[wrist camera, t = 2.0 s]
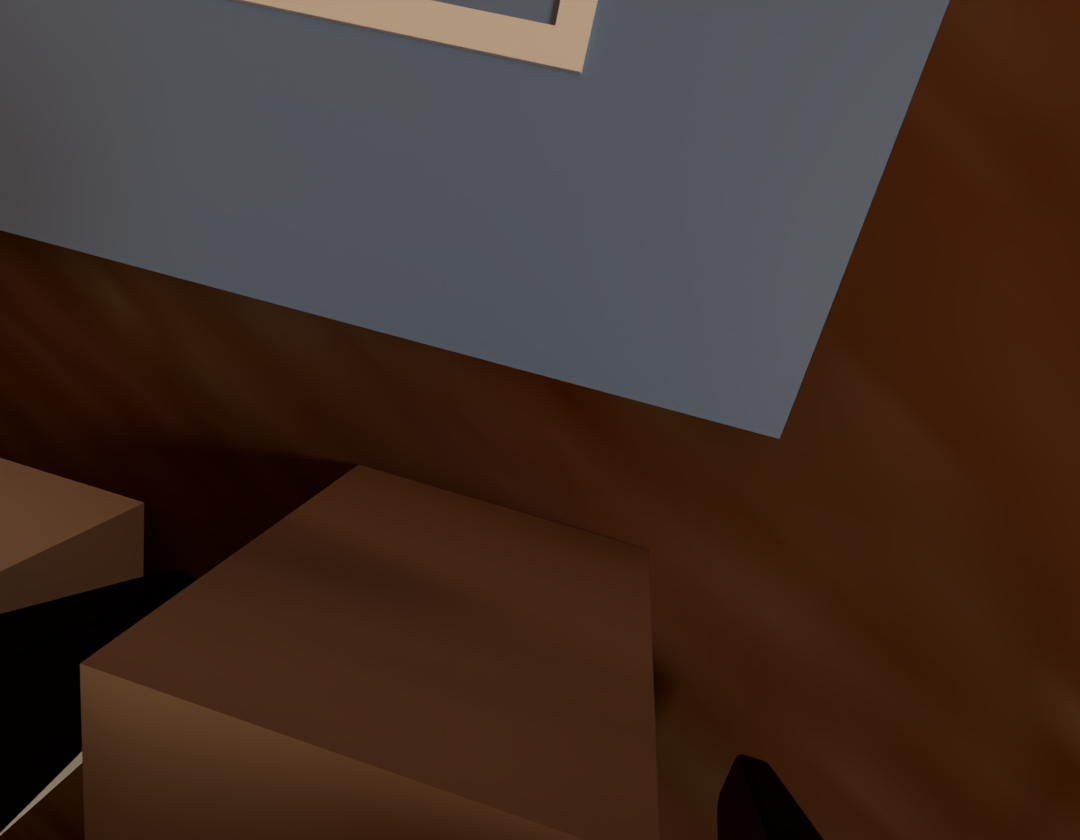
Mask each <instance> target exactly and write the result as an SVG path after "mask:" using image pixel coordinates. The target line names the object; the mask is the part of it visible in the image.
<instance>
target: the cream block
mask: <svg viewBox="0 0 1080 840" xmlns="http://www.w3.org/2000/svg"><path fill="white" fill-rule="evenodd" d="M143 569H144V502H141V501H138V500H134V499H131V498H128V497H125V496H121V495H118V494H115V493H112V492H109V491H105V490H102V489H99V488H96V487H92V486H89V485H86V484H83V483H80V482H76V481H73V480H70V479H67V478H63V477H60V476H57V475H54V474H51V473H47V472H44V471H41V470H38V469H34V468H31V467H28V466H25V465H22V464H18V463H15V462H12V461H9V460H5V459H2V458H0V614H1V613H5V612H9V611H13V610H17V609H20V608H24V607H28V606H32V605H36V604H40V603H43V602H47V601H51V600H55V599H59V598H63V597H66V596H70V595H74V594H78V593H82V592H85V591H89V590H93V589H97V588H101V587H105V586H108V585H112V584H116V583H120V582H124V581H128V580H131V579H135V578H139V577H143ZM81 763H82V752H81V753H80V754H79V755H78V756H77V757H76V758H75V759H74V760H73V761H72V762H71V763H70V764H69V765H68V766H67V767H66V768H65V769H64V770H63V771H62V772H61V773H60V774H59V775H58V776H57V777H56V778H55V779H54V780H53V781H52V782H51V783H50V784H49V785H48V786H47V787H46V788H45V789H44V790H43V791H42V792H41V793H40V794H39V795H38V796H37V797H36V798H35V799H34V800H33V801H32V802H31V803H30V804H29V805H28V806H27V807H26V808H25V809H24V810H23V811H22V812H21V813H20V814H19V815H18V816H17V817H16V818H15V819H14V820H13V821H12V822H11V823H10V824H9V825H8V826H7V827H6V828H5V829H4V830H3V831H2V832H1V833H0V835H2V834H3V833H4V832H5V831H6V830H7V829H8V828H9V827H11V826H12V825H13V824H14V823H15V822H16V821H17V820H18V819H20V818H21V817H22V816H23V815H24V814H25V813H26V812H27V811H28V810H30V809H31V808H32V807H33V806H34V805H35V804H36V803H37V802H39V801H40V800H41V799H42V798H43V797H44V796H45V795H46V794H48V793H49V792H50V791H51V790H52V789H53V788H54V787H55V786H57V785H58V784H59V783H60V782H61V781H62V780H63V779H64V778H66V777H67V776H68V775H69V774H70V773H71V772H72V771H73V770H75V769H76V768H77V767H78V766H79V765H80V764H81Z"/></svg>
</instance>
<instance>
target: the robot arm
mask: <svg viewBox="0 0 1080 840" xmlns="http://www.w3.org/2000/svg"><path fill="white" fill-rule="evenodd" d="M193 582H195V578H194V577H192V576H191V575H188V574H184V573H181V572H178V571H175V570H166V571H162V572H158V573H154V574H150V575H147V576H143V577H139V578H135V579H131V580H128V581H124V582H120V583H116V584H112V585H108V586H105V587H101V588H97V589H93V590H89V591H85V592H82V593H78V594H74V595H70V596H66V597H63V598H59V599H55V600H51V601H47V602H43V603H40V604H36V605H32V606H28V607H24V608H20V609H17V610H13V611H9V612H5V613H1V614H0V833H1V832H2V831H3V830H4V829H5V828H6V827H7V826H8V825H9V824H10V823H11V822H12V821H13V820H14V819H15V818H16V817H17V816H18V815H19V814H20V813H21V812H22V811H23V810H24V809H25V808H26V807H27V806H28V805H29V804H30V803H31V802H32V801H33V800H34V799H35V798H36V797H37V796H38V795H39V794H40V793H41V792H42V791H43V790H44V789H45V788H46V787H47V786H48V785H49V784H50V783H51V782H52V781H53V780H54V779H55V778H56V777H57V776H58V775H59V774H60V773H61V772H62V771H63V770H64V769H65V768H66V767H67V766H68V765H69V764H70V763H71V762H72V761H73V760H74V759H75V758H76V757H77V756H78V755H79V754H80V753H81V752H82V725H81V689H80V663H81V662H83V661H84V660H86V659H87V658H88V657H90V656H91V655H93V654H94V653H95V652H97V651H98V650H100V649H101V648H102V647H104V646H105V645H107V644H108V643H109V642H111V641H112V640H114V639H115V638H116V637H118V636H119V635H121V634H122V633H123V632H125V631H126V630H128V629H129V628H130V627H132V626H133V625H135V624H136V623H137V622H139V621H140V620H142V619H143V618H144V617H146V616H147V615H149V614H150V613H151V612H153V611H154V610H156V609H157V608H158V607H160V606H161V605H163V604H164V603H165V602H167V601H168V600H170V599H171V598H172V597H174V596H175V595H177V594H178V593H179V592H181V591H182V590H184V589H185V588H186V587H188V586H189V585H191V584H192V583H193ZM717 821H718V840H823V838H822V837H821V835H820V834H819V833H818V831H817V830H816V829H815V827H814V826H813V824H812V823H811V822H810V820H809V819H808V817H807V816H806V815H805V813H804V812H803V810H802V809H801V808H800V806H799V805H798V804H797V802H796V801H795V799H794V798H793V797H792V795H791V794H790V792H789V791H788V790H787V788H786V787H785V786H784V784H783V783H782V781H781V780H780V779H779V777H778V776H777V774H776V773H775V772H774V770H773V769H772V768H771V766H770V765H769V764H768V763H767V762H765V761H763V760H760V759H757V758H753V757H750V756H747V755H744V754H741V755H738V756H737V757H736V759H735V760H734V762H733V765H732V767H731V769H730V771H729V774H728V776H727V778H726V780H725V783H724V785H723V787H722V789H721V792H720V795H719V799H718V807H717Z"/></svg>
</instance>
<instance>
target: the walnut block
mask: <svg viewBox="0 0 1080 840" xmlns="http://www.w3.org/2000/svg"><path fill="white" fill-rule="evenodd" d="M80 689H81V725H82V762H83V798H84V834H85V840H660V835H659V808H658V782H657V756H656V730H655V703H654V677H653V651H652V625H651V599H650V572H649V550H648V549H645V548H642V547H638V546H635V545H631V544H628V543H625V542H621V541H618V540H614V539H611V538H608V537H604V536H601V535H597V534H594V533H590V532H587V531H584V530H580V529H577V528H573V527H570V526H567V525H563V524H560V523H556V522H553V521H550V520H546V519H543V518H539V517H536V516H533V515H529V514H526V513H522V512H519V511H516V510H512V509H509V508H505V507H502V506H499V505H495V504H492V503H488V502H485V501H482V500H478V499H475V498H471V497H468V496H465V495H461V494H458V493H454V492H451V491H447V490H444V489H441V488H437V487H434V486H430V485H427V484H424V483H420V482H417V481H413V480H410V479H407V478H403V477H400V476H396V475H393V474H390V473H386V472H383V471H379V470H376V469H373V468H369V467H366V466H362V465H357V466H356V467H354V468H353V469H352V470H350V471H349V472H347V473H346V474H345V475H343V476H342V477H340V478H339V479H338V480H336V481H335V482H333V483H332V484H331V485H329V486H328V487H326V488H325V489H324V490H322V491H321V492H319V493H318V494H317V495H315V496H314V497H312V498H311V499H310V500H308V501H307V502H305V503H304V504H303V505H301V506H300V507H298V508H297V509H296V510H294V511H293V512H291V513H290V514H289V515H287V516H286V517H284V518H283V519H282V520H280V521H279V522H277V523H276V524H275V525H273V526H272V527H270V528H269V529H268V530H266V531H265V532H263V533H262V534H261V535H259V536H258V537H256V538H255V539H254V540H252V541H251V542H249V543H248V544H247V545H245V546H244V547H242V548H241V549H240V550H238V551H237V552H235V553H234V554H233V555H231V556H230V557H228V558H227V559H226V560H224V561H223V562H221V563H220V564H219V565H217V566H216V567H214V568H213V569H212V570H210V571H209V572H207V573H206V574H205V575H203V576H202V577H200V578H199V579H198V580H196V581H195V582H193V583H192V584H191V585H189V586H188V587H186V588H185V589H184V590H182V591H181V592H179V593H178V594H177V595H175V596H174V597H172V598H171V599H170V600H168V601H167V602H165V603H164V604H163V605H161V606H160V607H158V608H157V609H156V610H154V611H153V612H151V613H150V614H149V615H147V616H146V617H144V618H143V619H142V620H140V621H139V622H137V623H136V624H135V625H133V626H132V627H130V628H129V629H128V630H126V631H125V632H123V633H122V634H121V635H119V636H118V637H116V638H115V639H114V640H112V641H111V642H109V643H108V644H107V645H105V646H104V647H102V648H101V649H100V650H98V651H97V652H95V653H94V654H93V655H91V656H90V657H88V658H87V659H86V660H84V661H83V662H81V663H80Z"/></svg>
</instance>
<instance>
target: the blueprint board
mask: <svg viewBox="0 0 1080 840" xmlns="http://www.w3.org/2000/svg"><path fill="white" fill-rule="evenodd" d="M948 3H949V0H0V230H2V231H5V232H9V233H13V234H16V235H20V236H24V237H28V238H31V239H35V240H39V241H43V242H46V243H50V244H54V245H58V246H61V247H65V248H69V249H72V250H76V251H80V252H84V253H87V254H91V255H95V256H99V257H102V258H106V259H110V260H114V261H117V262H121V263H125V264H128V265H132V266H136V267H140V268H143V269H147V270H151V271H155V272H158V273H162V274H166V275H170V276H173V277H177V278H181V279H184V280H188V281H192V282H196V283H199V284H203V285H207V286H211V287H214V288H218V289H222V290H226V291H229V292H233V293H237V294H240V295H244V296H248V297H252V298H255V299H259V300H263V301H267V302H270V303H274V304H278V305H282V306H285V307H289V308H293V309H296V310H300V311H304V312H308V313H311V314H315V315H319V316H323V317H326V318H330V319H334V320H337V321H341V322H345V323H349V324H352V325H356V326H360V327H364V328H367V329H371V330H375V331H379V332H382V333H386V334H390V335H393V336H397V337H401V338H405V339H408V340H412V341H416V342H420V343H423V344H427V345H431V346H435V347H438V348H442V349H446V350H449V351H453V352H457V353H461V354H464V355H468V356H472V357H476V358H479V359H483V360H487V361H491V362H494V363H498V364H502V365H505V366H509V367H513V368H517V369H520V370H524V371H528V372H532V373H535V374H539V375H543V376H547V377H550V378H554V379H558V380H561V381H565V382H569V383H573V384H576V385H580V386H584V387H588V388H591V389H595V390H599V391H603V392H606V393H610V394H614V395H617V396H621V397H625V398H629V399H632V400H636V401H640V402H644V403H647V404H651V405H655V406H659V407H662V408H666V409H670V410H673V411H677V412H681V413H685V414H688V415H692V416H696V417H700V418H703V419H707V420H711V421H715V422H718V423H722V424H726V425H729V426H733V427H737V428H741V429H744V430H748V431H752V432H756V433H759V434H763V435H767V436H771V437H774V438H778V439H780V436H781V434H782V431H783V429H784V426H785V423H786V421H787V418H788V416H789V413H790V411H791V408H792V405H793V403H794V400H795V398H796V395H797V392H798V390H799V387H800V385H801V382H802V380H803V377H804V374H805V372H806V369H807V367H808V364H809V362H810V359H811V356H812V354H813V351H814V349H815V346H816V343H817V341H818V338H819V336H820V333H821V331H822V328H823V325H824V323H825V320H826V318H827V315H828V312H829V310H830V307H831V305H832V302H833V300H834V297H835V294H836V292H837V289H838V287H839V284H840V282H841V279H842V276H843V274H844V271H845V269H846V266H847V263H848V261H849V258H850V256H851V253H852V251H853V248H854V245H855V243H856V240H857V238H858V235H859V233H860V230H861V227H862V225H863V222H864V220H865V217H866V214H867V212H868V209H869V207H870V204H871V202H872V199H873V196H874V194H875V191H876V189H877V186H878V183H879V181H880V178H881V176H882V173H883V171H884V168H885V165H886V163H887V160H888V158H889V155H890V153H891V150H892V147H893V145H894V142H895V140H896V137H897V134H898V132H899V129H900V127H901V124H902V122H903V119H904V116H905V114H906V111H907V109H908V106H909V104H910V101H911V98H912V96H913V93H914V91H915V88H916V85H917V83H918V80H919V78H920V75H921V73H922V70H923V67H924V65H925V62H926V60H927V57H928V55H929V52H930V49H931V47H932V44H933V42H934V39H935V36H936V34H937V31H938V29H939V26H940V24H941V21H942V18H943V16H944V13H945V11H946V8H947V5H948Z"/></svg>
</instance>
